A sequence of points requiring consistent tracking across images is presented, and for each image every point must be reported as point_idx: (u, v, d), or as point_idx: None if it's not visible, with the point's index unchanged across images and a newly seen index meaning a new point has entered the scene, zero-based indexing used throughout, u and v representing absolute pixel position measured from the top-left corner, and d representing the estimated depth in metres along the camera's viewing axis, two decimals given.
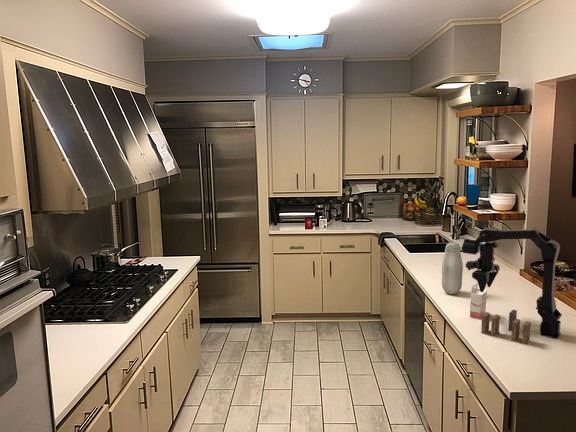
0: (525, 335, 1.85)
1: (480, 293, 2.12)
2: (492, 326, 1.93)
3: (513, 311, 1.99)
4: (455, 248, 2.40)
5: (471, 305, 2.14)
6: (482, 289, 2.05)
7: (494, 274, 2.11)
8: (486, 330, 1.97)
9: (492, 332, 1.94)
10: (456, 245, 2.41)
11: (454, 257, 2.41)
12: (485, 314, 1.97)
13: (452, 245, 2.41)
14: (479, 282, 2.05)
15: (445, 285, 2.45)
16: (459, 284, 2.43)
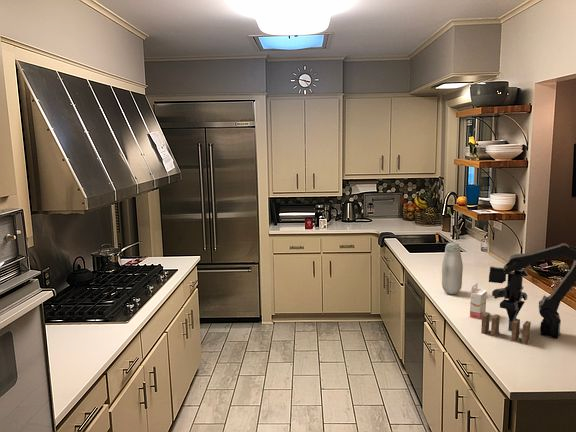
0: (525, 335, 1.85)
1: (480, 293, 2.12)
2: (492, 326, 1.93)
3: None
4: (455, 248, 2.40)
5: (471, 305, 2.14)
6: (511, 318, 1.97)
7: (520, 304, 1.99)
8: (486, 330, 1.97)
9: (492, 332, 1.94)
10: (456, 245, 2.41)
11: (454, 257, 2.41)
12: (485, 314, 1.97)
13: (452, 245, 2.41)
14: (508, 311, 1.96)
15: (445, 285, 2.45)
16: (459, 284, 2.43)
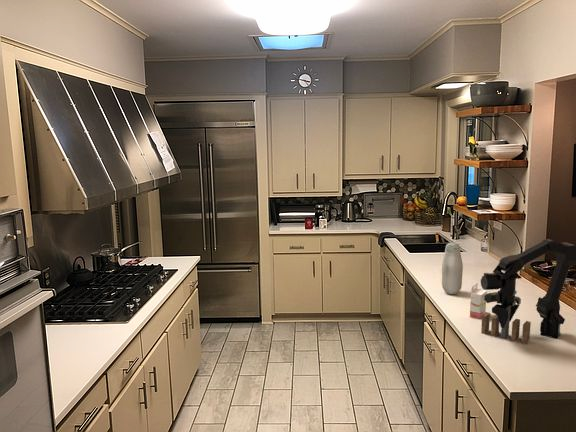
0: (525, 335, 1.85)
1: (480, 293, 2.12)
2: (492, 326, 1.93)
3: None
4: (455, 248, 2.40)
5: (471, 305, 2.14)
6: (503, 325, 1.88)
7: (515, 308, 1.93)
8: (486, 330, 1.97)
9: (492, 332, 1.94)
10: (456, 245, 2.41)
11: (454, 257, 2.41)
12: (485, 314, 1.96)
13: (452, 245, 2.41)
14: (500, 317, 1.88)
15: (445, 285, 2.45)
16: (459, 284, 2.43)
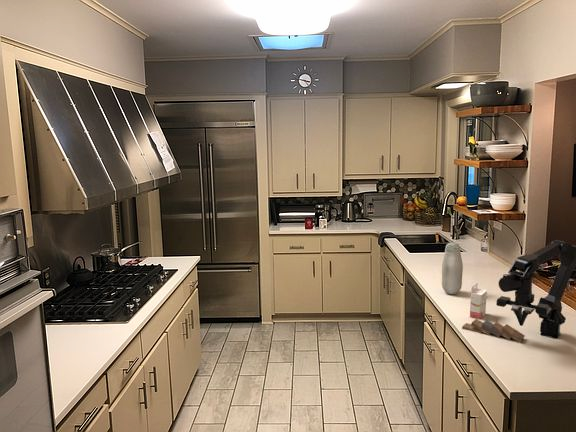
0: (512, 334, 1.89)
1: (480, 293, 2.12)
2: (479, 329, 1.97)
3: (484, 322, 1.98)
4: (455, 248, 2.40)
5: (471, 305, 2.14)
6: None
7: None
8: None
9: (485, 332, 1.96)
10: (456, 245, 2.41)
11: (454, 257, 2.41)
12: None
13: (452, 245, 2.41)
14: None
15: (445, 285, 2.45)
16: (459, 284, 2.43)
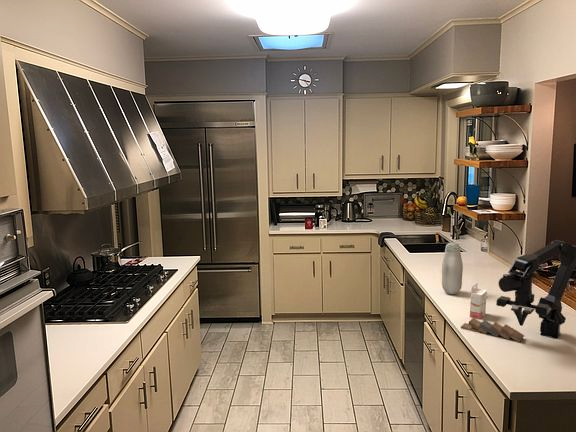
0: (511, 334, 1.89)
1: (480, 293, 2.12)
2: (476, 328, 1.98)
3: (482, 322, 1.99)
4: (455, 248, 2.40)
5: (471, 305, 2.14)
6: None
7: None
8: None
9: (482, 331, 1.96)
10: (456, 245, 2.41)
11: (454, 258, 2.41)
12: None
13: (452, 245, 2.41)
14: None
15: (445, 285, 2.45)
16: (459, 284, 2.43)
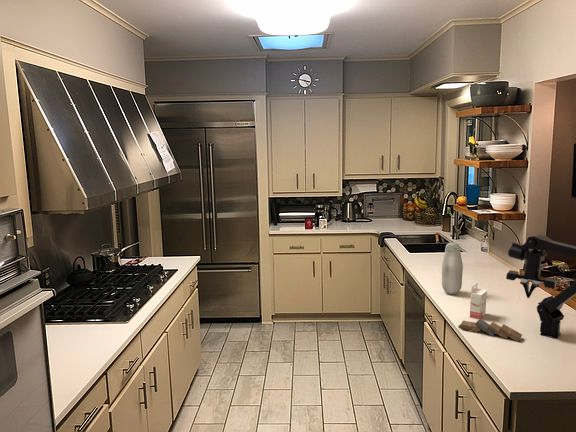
0: (510, 334, 1.89)
1: (480, 293, 2.12)
2: (469, 328, 1.99)
3: (477, 321, 1.99)
4: (455, 248, 2.40)
5: (471, 305, 2.14)
6: None
7: None
8: None
9: (476, 329, 1.97)
10: (456, 245, 2.41)
11: (454, 257, 2.41)
12: None
13: (452, 245, 2.41)
14: None
15: (445, 285, 2.45)
16: (459, 284, 2.43)
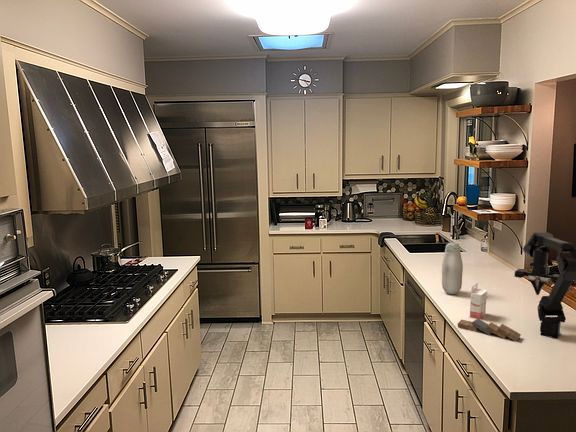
0: (508, 334, 1.90)
1: (480, 293, 2.12)
2: (466, 327, 2.01)
3: None
4: (455, 248, 2.40)
5: (471, 305, 2.14)
6: None
7: None
8: None
9: (472, 328, 1.99)
10: (456, 245, 2.41)
11: (454, 257, 2.41)
12: None
13: (452, 245, 2.41)
14: None
15: (445, 285, 2.45)
16: (459, 284, 2.43)
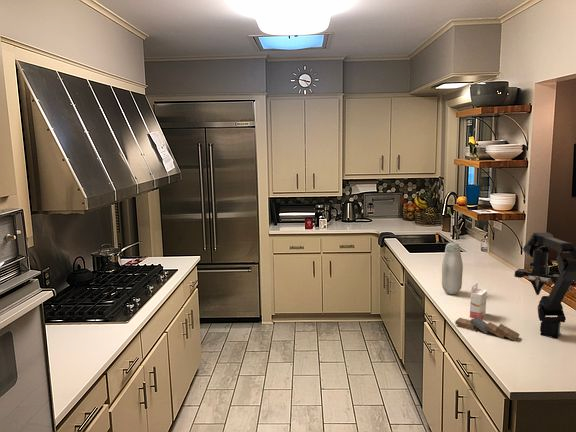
0: (506, 334, 1.90)
1: (480, 293, 2.12)
2: (463, 325, 2.02)
3: None
4: (455, 248, 2.40)
5: (471, 305, 2.14)
6: None
7: None
8: None
9: (469, 326, 2.01)
10: (456, 245, 2.41)
11: (454, 257, 2.41)
12: None
13: (452, 245, 2.41)
14: None
15: (445, 285, 2.45)
16: (459, 284, 2.43)
